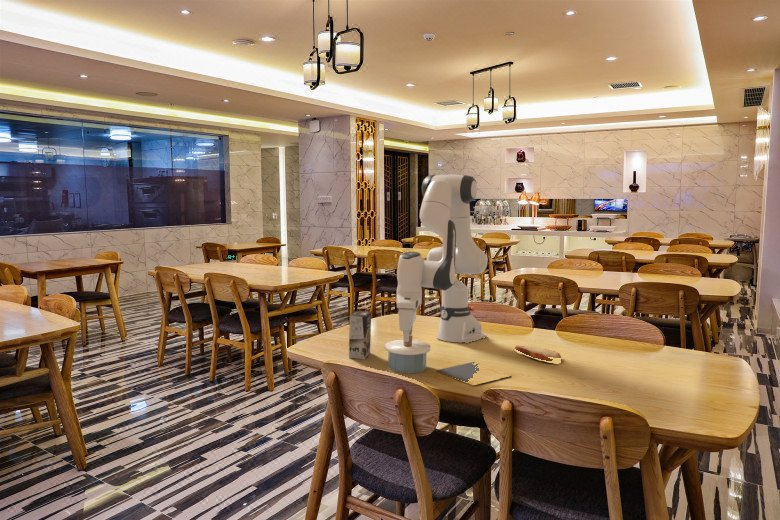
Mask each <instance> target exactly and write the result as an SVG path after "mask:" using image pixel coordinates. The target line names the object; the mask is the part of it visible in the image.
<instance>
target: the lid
mask: <svg viewBox="0 0 780 520" xmlns="http://www.w3.org/2000/svg"><path fill="white" fill-rule="evenodd" d="M384 349H385V350H386V351H387V352H388V351H389V352H391V353H395V354H402V355H419V354H424V353H426V354H428V353H429V352H430V351H431V344H429V343H427V342H425V341H421V340H416V339H413V335H412V334H411V335H409V341H408V342H404V339H396V340H395V339H394V340H391V341H387V342H386V343H385V345H384Z"/></svg>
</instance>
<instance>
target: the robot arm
mask: <svg viewBox="0 0 780 520" xmlns="http://www.w3.org/2000/svg"><path fill="white" fill-rule="evenodd" d="M477 193H478V185H477V180H476V179H475V177H473V176H471V175H469V174H468V175H467V174H465V175H461V174H454V173H449V174H437V175H436V174H431V175H427V176H426V177H425V178H424V179H423V180H422V184H421V194H422V196H423V198H422V202H421V206H420V209H419V220H420V223H421V224H422V226H423V227H425V229H427V230H428V231H429V232H431V233H434V234H435V235H438V236H440V237H441V238H442V246H437V247H432V248H431V249H430V250H429V251H428V253H427V255H426V259H423V258H422V254H421V253H420V252H418V251H406V252H402V253H401V254H400V256H399V258H398V261H397V271H396V273H397V274H396V279H397V287H396V300H395V301H396V308H397V309H398V326H399V330H400V331H401V332H402V336H403V340H404V342H408V341H409V335H412V334H413V327H414V323H415V321H416V318H417V310H418V309H419V306H421V305H422V304H423V302H422V301H423V288H431V289H435V290H439V291H441V304H440V320H439V326H438V330H437V335H436V338H437V339H438V340H440V341H444V342H449V343H462V342H465V343H464V344H470V343H469V342H471V343H473V342H472V341H474V340H477V341H479V340H478V339H480V340H482V339H481V338H483V339H485V338H484V337H486V338H488V335H487V333H485V332H483V331H482V324H481V322H480V321H479V320H478V319H477V318H476V317H474V316H473V315H472V313H471V312H473V313H474V312H475V310H476V307H475V306H472V305H470V306H469V288H468V286H467V285H466V284H465V283H463V282H462V281H460V280H459V279H458V278H457V276H456V275H457V274H461V275H471V276H472V275H478V274H483V273H484V272H485V271H486V269H487V267H488V256H487V255H486V254H487V253H485V252H484V251H483V249H481V248H480V247H479V246H478V245H477V244H476V242H475V241H474V238H473V236H472V229H471V209H470V206H471V205H470V203H471V202H473V201H474V199H475V198H476V197H477ZM474 342H475V341H474Z"/></svg>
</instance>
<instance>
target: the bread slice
mask: <svg viewBox="0 0 780 520" xmlns="http://www.w3.org/2000/svg"><path fill="white" fill-rule="evenodd" d="M514 349H516V350H518V351H520V352H522V353H524V354H526V355H529V356H531V357H533V358H538V359H541V360H546V361H552V360H553V359H550V358H548V357H553V358H562V357H561V354H560V353H559V352H557V351H555V350H551V349H549V348H548V349H547V348H541V347H535V346H529V345H515V347H514Z"/></svg>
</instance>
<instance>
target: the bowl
mask: <svg viewBox="0 0 780 520" xmlns="http://www.w3.org/2000/svg"><path fill="white" fill-rule="evenodd" d="M387 352H388V355H387V356H388V357H387V358H388V360H387V364H388V369H389V370H390V371H392V372H395V373H399V374H419V373H422V372H424V371H425V370H426V367H427V353H424V354H419V355H402V354H395V353H391V352H389V351H387Z"/></svg>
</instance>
